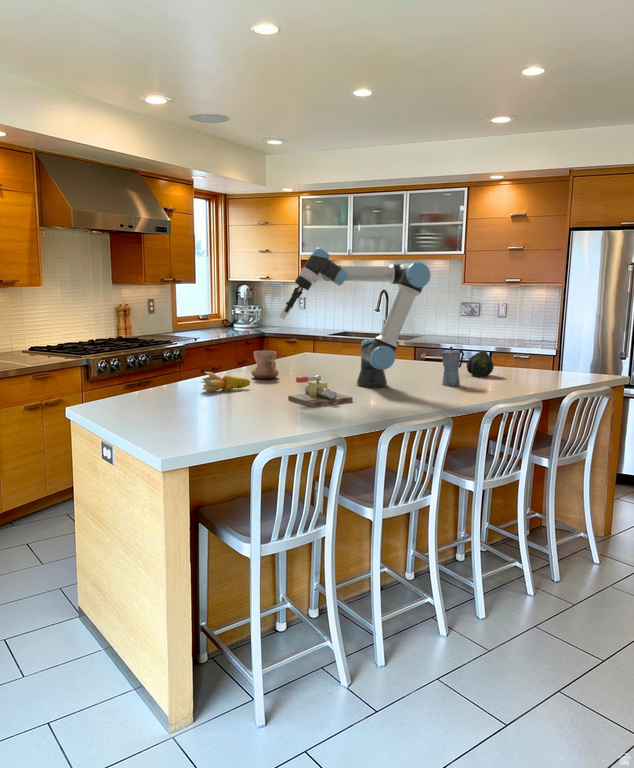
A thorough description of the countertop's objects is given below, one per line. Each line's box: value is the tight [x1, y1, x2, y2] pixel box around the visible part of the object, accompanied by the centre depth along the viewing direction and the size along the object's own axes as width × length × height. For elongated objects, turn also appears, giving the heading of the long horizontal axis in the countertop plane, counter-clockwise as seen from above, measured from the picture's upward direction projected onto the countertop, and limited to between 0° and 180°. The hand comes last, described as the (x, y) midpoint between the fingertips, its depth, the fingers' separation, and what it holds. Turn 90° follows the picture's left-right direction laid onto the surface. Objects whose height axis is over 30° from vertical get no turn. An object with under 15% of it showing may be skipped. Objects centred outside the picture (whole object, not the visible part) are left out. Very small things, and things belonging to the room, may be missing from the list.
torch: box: [200, 371, 251, 393], centre depth 294 cm, size 8×8×25 cm
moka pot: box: [441, 346, 465, 387], centre depth 318 cm, size 10×15×20 cm, turn 127°
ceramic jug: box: [251, 350, 279, 380], centre depth 330 cm, size 18×14×14 cm
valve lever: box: [295, 374, 322, 384], centre depth 271 cm, size 12×3×2 cm, turn 126°
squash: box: [466, 350, 494, 377], centre depth 350 cm, size 14×15×15 cm
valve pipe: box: [304, 380, 337, 400], centre depth 273 cm, size 6×19×7 cm, turn 36°
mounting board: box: [287, 392, 353, 408], centre depth 274 cm, size 22×18×2 cm
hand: (281, 318), depth 288 cm, fingers open, 13 cm apart
